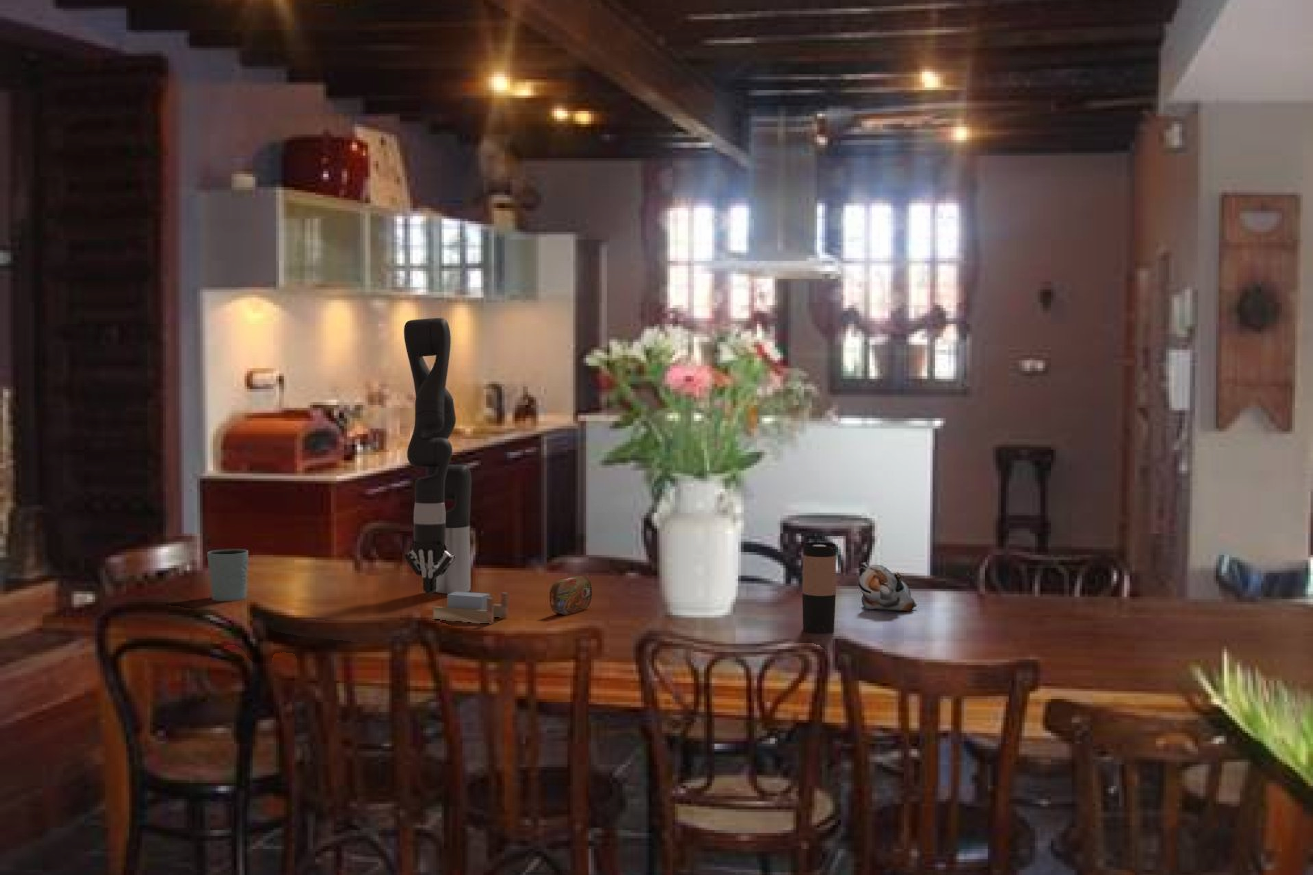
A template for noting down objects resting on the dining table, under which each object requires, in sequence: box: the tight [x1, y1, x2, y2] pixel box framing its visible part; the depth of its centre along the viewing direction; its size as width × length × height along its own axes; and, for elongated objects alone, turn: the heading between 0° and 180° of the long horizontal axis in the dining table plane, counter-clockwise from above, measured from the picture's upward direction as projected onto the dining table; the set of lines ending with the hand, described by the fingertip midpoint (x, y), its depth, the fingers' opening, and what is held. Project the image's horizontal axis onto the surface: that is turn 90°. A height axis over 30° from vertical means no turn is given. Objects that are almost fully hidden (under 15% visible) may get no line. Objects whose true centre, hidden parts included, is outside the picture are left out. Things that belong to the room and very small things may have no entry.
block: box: [446, 591, 491, 610], centre depth 365 cm, size 4×9×6 cm, turn 70°
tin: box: [549, 575, 593, 616], centre depth 374 cm, size 15×3×8 cm, turn 148°
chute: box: [432, 592, 509, 625], centre depth 364 cm, size 9×15×6 cm, turn 70°
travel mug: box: [801, 541, 837, 634], centre depth 353 cm, size 8×8×20 cm
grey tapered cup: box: [206, 548, 249, 602], centre depth 390 cm, size 10×10×12 cm
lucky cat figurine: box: [858, 561, 918, 613], centre depth 379 cm, size 15×12×14 cm
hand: (429, 593), depth 367 cm, fingers closed
